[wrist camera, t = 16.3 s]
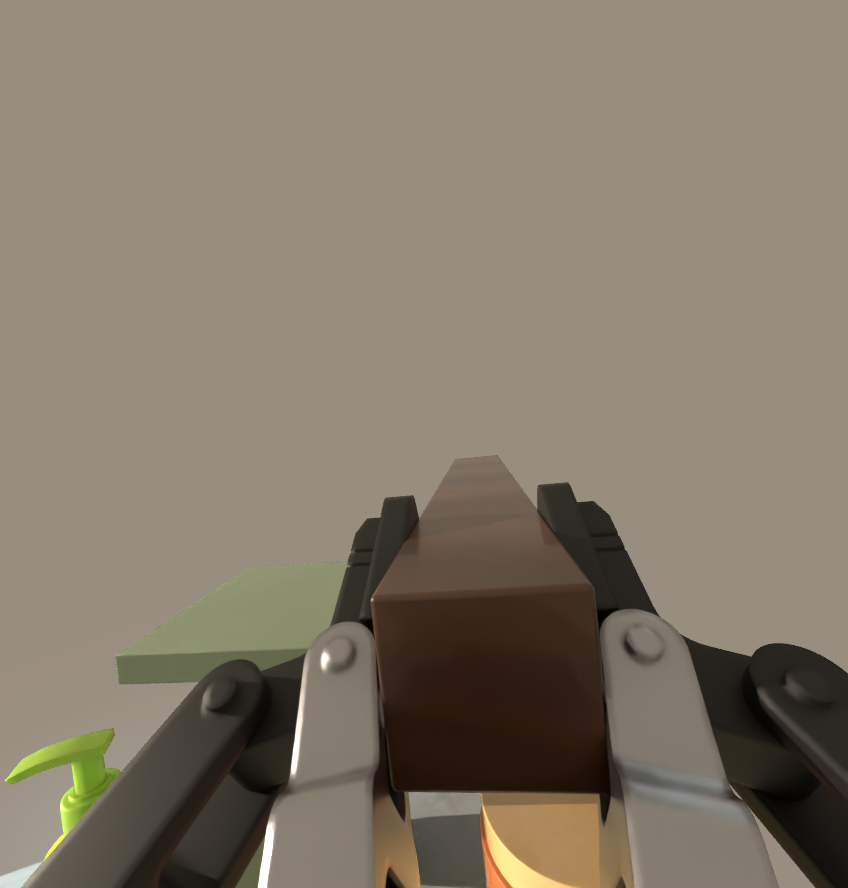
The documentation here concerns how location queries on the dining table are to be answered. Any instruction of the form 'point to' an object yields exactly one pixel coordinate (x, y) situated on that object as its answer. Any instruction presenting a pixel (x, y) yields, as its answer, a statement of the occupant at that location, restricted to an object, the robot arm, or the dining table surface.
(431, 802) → the dining table surface
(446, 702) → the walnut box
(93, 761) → the soap dispenser
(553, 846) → the terracotta jar
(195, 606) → the plant stand
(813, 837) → the robot arm
